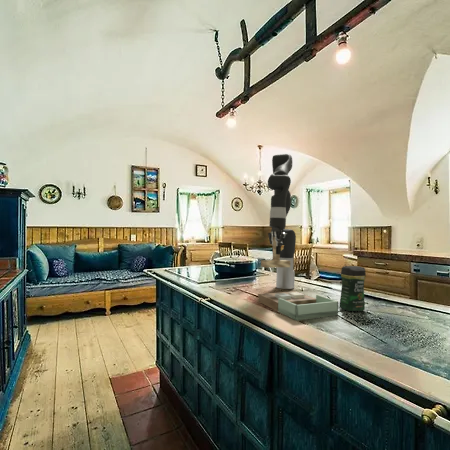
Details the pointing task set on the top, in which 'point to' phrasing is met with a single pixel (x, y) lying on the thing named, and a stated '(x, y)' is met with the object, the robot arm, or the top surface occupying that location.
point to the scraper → (275, 259)
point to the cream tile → (296, 295)
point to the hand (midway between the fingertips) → (276, 253)
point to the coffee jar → (352, 288)
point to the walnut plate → (272, 301)
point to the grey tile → (283, 296)
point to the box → (309, 308)
